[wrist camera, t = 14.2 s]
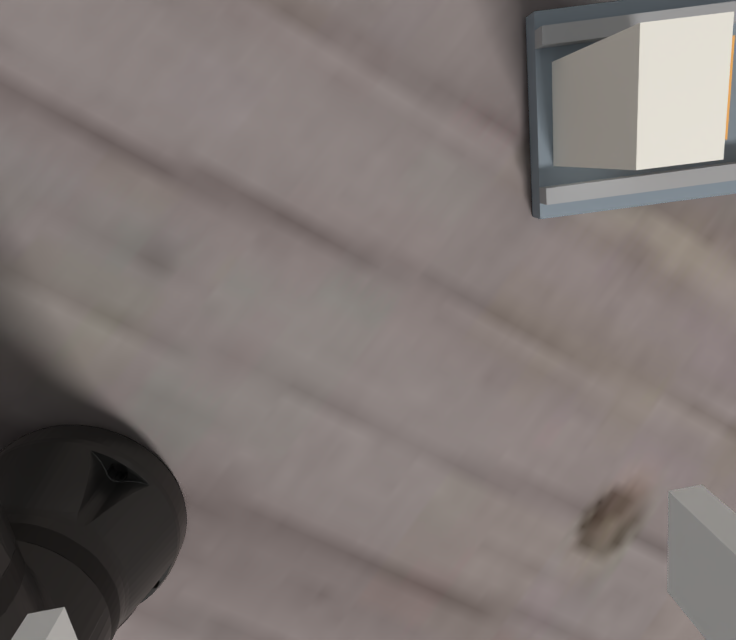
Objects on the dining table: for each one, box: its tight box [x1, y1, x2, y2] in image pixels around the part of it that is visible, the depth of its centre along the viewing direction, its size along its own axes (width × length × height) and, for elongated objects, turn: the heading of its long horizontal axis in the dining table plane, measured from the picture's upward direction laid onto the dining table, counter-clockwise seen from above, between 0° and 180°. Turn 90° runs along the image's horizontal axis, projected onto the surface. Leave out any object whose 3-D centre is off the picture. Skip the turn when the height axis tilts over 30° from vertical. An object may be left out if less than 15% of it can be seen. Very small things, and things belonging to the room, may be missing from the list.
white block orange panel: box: [552, 12, 735, 170], centre depth 28 cm, size 6×5×10 cm
